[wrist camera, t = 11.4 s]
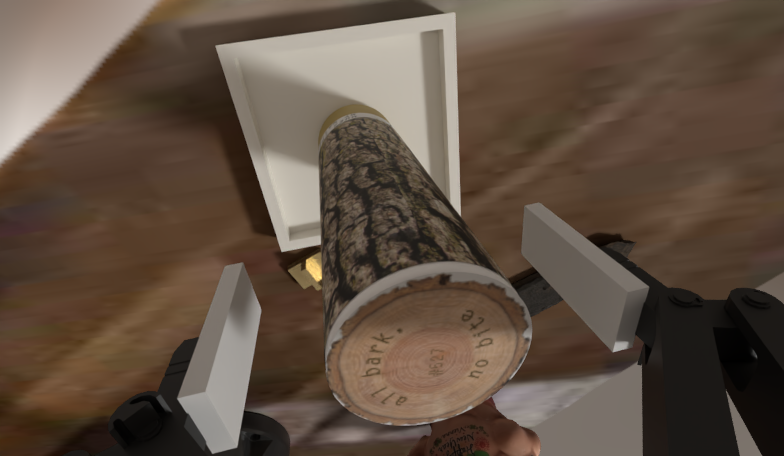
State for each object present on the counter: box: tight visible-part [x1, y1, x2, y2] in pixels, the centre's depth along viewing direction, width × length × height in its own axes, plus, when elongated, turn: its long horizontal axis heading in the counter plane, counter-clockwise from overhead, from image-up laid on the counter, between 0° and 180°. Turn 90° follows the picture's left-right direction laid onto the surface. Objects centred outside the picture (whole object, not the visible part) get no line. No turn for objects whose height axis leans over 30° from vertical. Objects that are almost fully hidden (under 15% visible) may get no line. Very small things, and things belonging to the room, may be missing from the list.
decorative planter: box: [407, 396, 541, 456], centre depth 50 cm, size 20×12×14 cm, turn 111°
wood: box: [512, 240, 636, 317], centre depth 47 cm, size 22×7×3 cm, turn 117°
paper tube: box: [318, 104, 532, 426], centre depth 23 cm, size 7×7×25 cm
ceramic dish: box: [215, 12, 461, 252], centre depth 33 cm, size 18×18×2 cm
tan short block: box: [288, 248, 322, 291], centre depth 39 cm, size 4×3×3 cm
